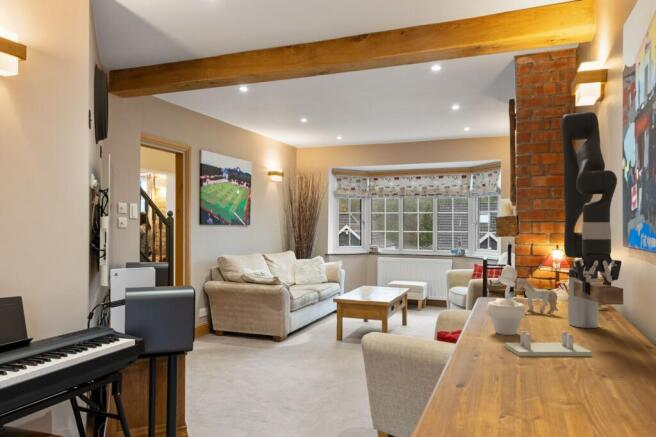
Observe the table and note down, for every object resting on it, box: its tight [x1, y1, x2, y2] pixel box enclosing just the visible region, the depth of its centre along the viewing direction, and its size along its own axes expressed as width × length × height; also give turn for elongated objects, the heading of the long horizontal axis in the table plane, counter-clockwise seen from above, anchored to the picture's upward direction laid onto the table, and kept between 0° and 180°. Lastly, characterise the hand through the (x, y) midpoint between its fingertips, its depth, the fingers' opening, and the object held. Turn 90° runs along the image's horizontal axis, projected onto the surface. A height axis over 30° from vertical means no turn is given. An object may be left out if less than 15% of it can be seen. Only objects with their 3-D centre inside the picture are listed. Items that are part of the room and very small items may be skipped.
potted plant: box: [486, 261, 526, 336], centre depth 154 cm, size 13×12×25 cm
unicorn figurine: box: [514, 278, 559, 315], centre depth 193 cm, size 7×20×13 cm, turn 51°
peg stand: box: [503, 330, 593, 357], centre depth 132 cm, size 10×20×5 cm, turn 91°
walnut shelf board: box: [574, 281, 624, 306], centre depth 139 cm, size 16×5×4 cm, turn 1°
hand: (596, 294), depth 139 cm, fingers closed on walnut shelf board, 5 cm apart
